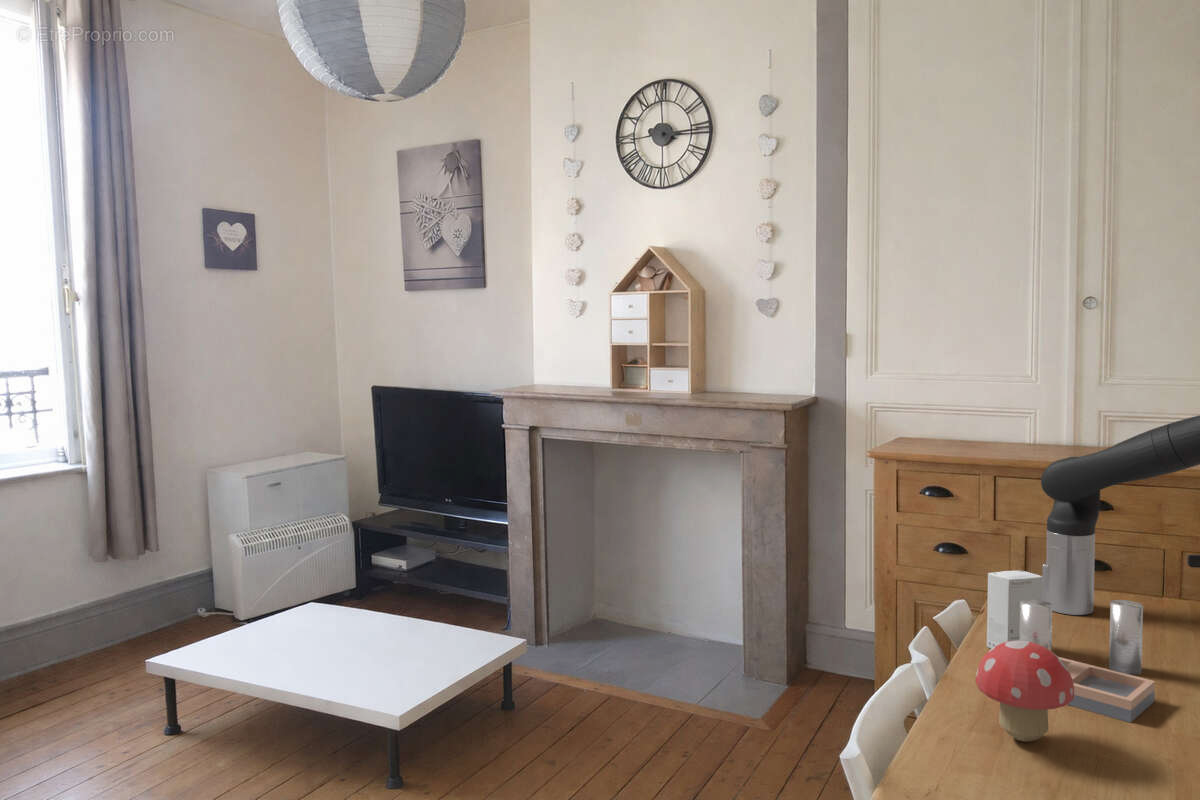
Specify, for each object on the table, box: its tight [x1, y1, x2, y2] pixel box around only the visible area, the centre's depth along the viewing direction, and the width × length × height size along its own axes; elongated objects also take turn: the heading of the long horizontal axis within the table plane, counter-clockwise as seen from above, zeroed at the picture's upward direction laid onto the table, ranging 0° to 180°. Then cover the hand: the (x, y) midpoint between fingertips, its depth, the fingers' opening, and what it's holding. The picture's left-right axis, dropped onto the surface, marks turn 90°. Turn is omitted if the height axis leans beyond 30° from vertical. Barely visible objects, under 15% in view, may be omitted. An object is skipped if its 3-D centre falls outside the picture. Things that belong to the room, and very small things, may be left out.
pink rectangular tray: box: [1057, 656, 1156, 724], centre depth 148 cm, size 22×11×4 cm, turn 41°
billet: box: [1108, 599, 1144, 676], centre depth 157 cm, size 5×5×12 cm
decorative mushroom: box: [974, 640, 1074, 743], centre depth 131 cm, size 13×13×15 cm
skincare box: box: [986, 569, 1043, 650], centre depth 167 cm, size 8×6×15 cm
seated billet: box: [1020, 599, 1053, 652], centre depth 152 cm, size 5×5×12 cm
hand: (1198, 567), depth 153 cm, fingers open, 8 cm apart
